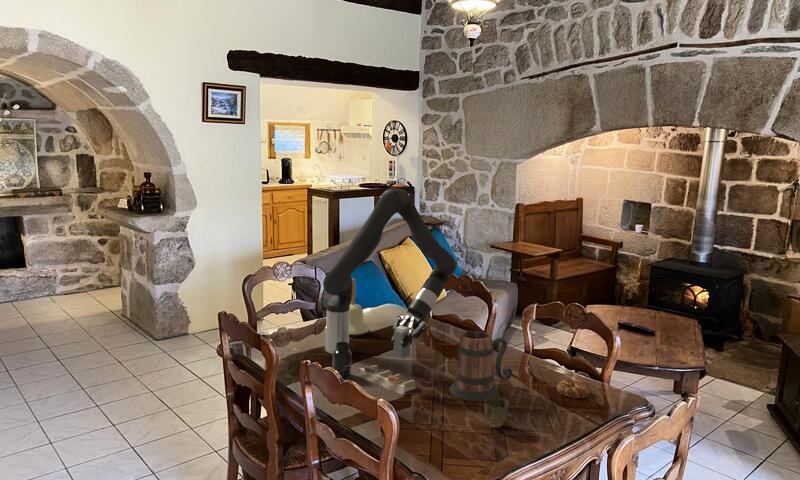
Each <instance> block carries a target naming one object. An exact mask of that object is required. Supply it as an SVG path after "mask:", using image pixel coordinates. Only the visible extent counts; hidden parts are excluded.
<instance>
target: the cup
mask: <svg viewBox="0 0 800 480" xmlns="http://www.w3.org/2000/svg"><path fill="white" fill-rule="evenodd" d="M483 402H484V413H485V418H486V420H487V421H488V422H489V423H488V424H489V426H490V428H492V429H500V428H501V427H502V425H503V423H504V422H505V421H506V420H507V418H508V414H509V413H508V412H509V409H510V401H509V400H508V399H506V398H504V397H502V398H501V397H500V396H496V397H491V398H490V399H489V398H487V399H485V400H484V401H483Z"/></svg>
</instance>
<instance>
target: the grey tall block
mask: <svg viewBox="0 0 800 480" xmlns="http://www.w3.org/2000/svg"><path fill="white" fill-rule="evenodd" d="M407 332H408V327H405V326H404V325H403V326H400V327H396V331H395V330H393V335H394V344H393V353H392V354H393V355H392V356H393V357H396V358H399V359H405V358H408V357H410V356H411V341H410V342H409V343H408V345H407V346H406V347H402V345H401V342H402V341H403V339H404V337H405V336H406V335H407Z"/></svg>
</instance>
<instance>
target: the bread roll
mask: <svg viewBox="0 0 800 480" xmlns="http://www.w3.org/2000/svg"><path fill="white" fill-rule="evenodd" d="M556 391H557V392H558V393H559V394H560V395H561V396H562V395H564V396H563V397H566V396H568V398H569V397H571V398H570V399H576V398H583V399H586V398H588V397H587V396H589V394H590V392H591V389H590V387H589V386H588V385H587V384H583V383H582V382H580V381H578V380H573V379H567V378H566V379H562V380H561V381H560V382H559V383H557V385H556ZM585 397H586V398H585Z"/></svg>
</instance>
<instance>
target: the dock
mask: <svg viewBox="0 0 800 480" xmlns="http://www.w3.org/2000/svg"><path fill="white" fill-rule="evenodd" d="M391 373H392V371H391V370H390V369H388V370H385V371H381V372H378V365H377V364H373V365H370V366H369V365H365V366H364V368H362V367H360V368H358V377H359V378H362V379H364V380H366V381H368V382H371V383H373V384H375V385H378V386H380V387H383V388H385V389H387V390H389V391H392V392H394V393H397V394H399V395H405V394H406V392H410V391H412V390H414V389H416V379H411V380H407V381H404V382H403V383H402V382H401V374H400V373H396V374H394V375H391Z"/></svg>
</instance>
